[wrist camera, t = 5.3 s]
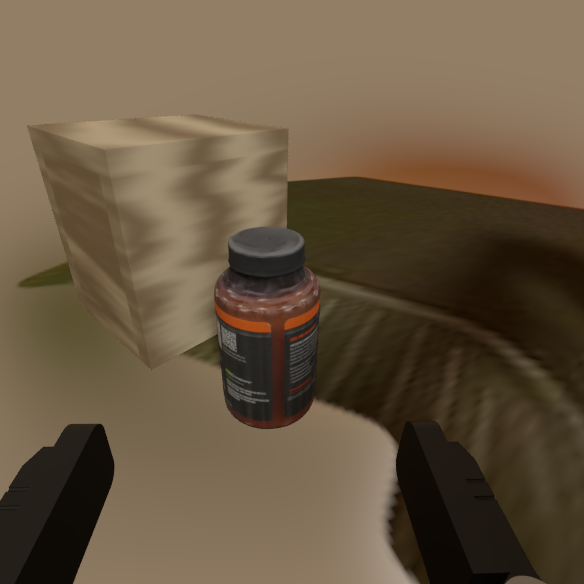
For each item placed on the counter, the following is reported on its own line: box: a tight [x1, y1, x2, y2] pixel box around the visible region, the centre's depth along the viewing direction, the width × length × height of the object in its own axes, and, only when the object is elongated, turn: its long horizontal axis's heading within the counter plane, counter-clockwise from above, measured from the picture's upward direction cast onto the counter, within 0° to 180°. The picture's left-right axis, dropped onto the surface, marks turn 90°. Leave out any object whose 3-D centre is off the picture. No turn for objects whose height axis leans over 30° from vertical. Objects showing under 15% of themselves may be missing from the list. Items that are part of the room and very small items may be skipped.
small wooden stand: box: [27, 115, 288, 369], centre depth 31 cm, size 14×12×15 cm
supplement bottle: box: [214, 226, 320, 429], centre depth 22 cm, size 6×6×11 cm
